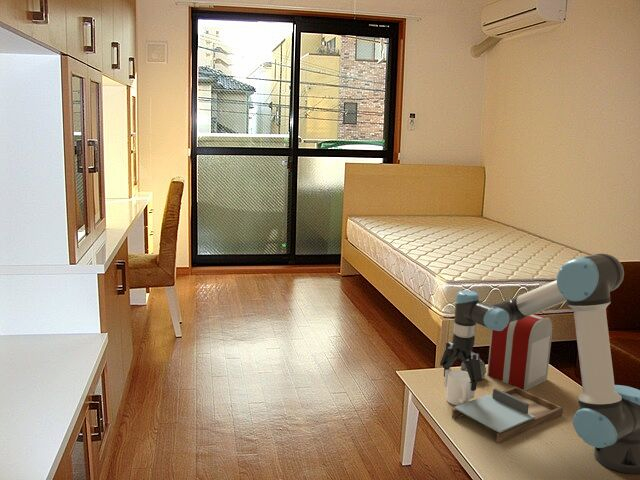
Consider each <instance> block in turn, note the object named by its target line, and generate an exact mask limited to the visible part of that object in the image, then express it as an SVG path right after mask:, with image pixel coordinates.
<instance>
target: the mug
mask: <svg viewBox="0 0 640 480" xmlns="http://www.w3.org/2000/svg"><path fill="white" fill-rule="evenodd" d="M469 381H471V380H470V377H469V374H468V372H466V371H462V370H461V369H454V370H453V369H452V371H449V372H448V380H447V387H446V394H445V400H446V402H447V403H449V404H450V405H453V406H458V405H461V404H464V403H467V402H469V401H470V399H467V395H468V384H469Z"/></svg>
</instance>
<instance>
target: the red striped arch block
mask: <svg viewBox="0 0 640 480" xmlns="http://www.w3.org/2000/svg"><path fill="white" fill-rule="evenodd" d="M490 330H491V329H490ZM552 336H553V323H552V320H551V319H550V318H549V317H546V316H544V315H543V316H542V315H540V314H537V313H535V314H532V315H529V316H527V317H526V318H524V319H521V320H517V321H513V322H509V323H508V325H507V327H506V328H504V330H502V331H496V330H491V331H490V343H489V350H488V351H489V352H488V360H487V361H488V363H487V371H486V374H487V376H488V377H490V378H493V379H495V380H497V381H500V382H502V383H504V384H506V385H510V386H513V387H515V386H516V387H518V388H520V389H523V390H525V391H528V390H529V389H533V388H534V387H535V386H537V385H540V384H541V383H544V382H546V381H548V373H549V364H550V357H551V356H550V354H551V348H552V347H551V346H552V338H553V337H552Z"/></svg>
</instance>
